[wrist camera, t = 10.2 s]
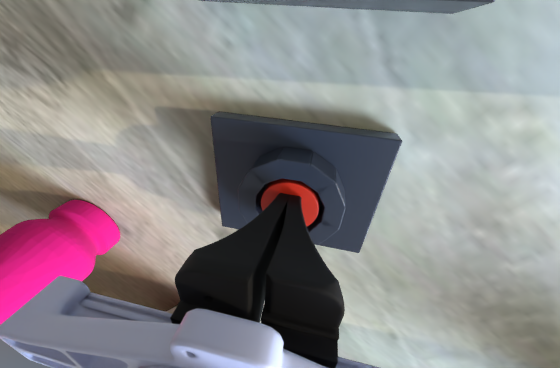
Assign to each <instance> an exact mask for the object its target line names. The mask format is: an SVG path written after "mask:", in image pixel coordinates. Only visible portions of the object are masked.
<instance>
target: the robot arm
mask: <svg viewBox="0 0 560 368" xmlns="http://www.w3.org/2000/svg"><path fill="white" fill-rule="evenodd" d="M301 199H302V198H301V197H300V196H296V195H290V194H284V193H279V194H278V195H277V196H276V198H275V199H274V200H273V201H272V202H271V203H270V204H269V205H268V206H267V207H266V208H265V209H264V210H263V211H262V212H261V213H260V214H259V215H258V216H257V217H255V218H254V219H253V220H252V221H250V222H249V223H248V224H246V225H245V226H244V227H242V228H241V229H239V230H237V231H236V232H234V233H232V234H231V235H229V236H227V237H225V238H223V239H221V240H219V241H217V242H214V243H212V244H210V245H207V246H204V247H202V248H199V249H196V250H194V252H193V253H192V254H191V255H190V256H189V257H188V259H187V260H186V261H185V263H184V264H183V266H182V267H181V268H180V270H179V271H178V273H177V274H176V277H175V284H176V287H177V291H178V294H179V297H180V302H179V304H178V305H177V307H176V309H175V310H174V312H173V314H172V313H168V312H165V311H161V310H157V309H153V308H149V307H145V306H142V305H138V304H134V303H130V302H126V301H122V300H119V299H115V298H111V297H107V296H103V295H99V294H96V293H92V292H90V290H89V288H88V286H87V285H86V284H85V283H83V282H82V281H79V280H76V279H72V278H68V277H64V276H58V277H57V278H56V279H55V280H53V281H52V282H51V283H50V284H49V285H47V286H46V287H45V288H44V289H43V290H41V291H40V292H39V293H38V294H37V295H35V296H34V297H33V298H32V299H31V300H29V301H28V302H27V303H26V304H25V305H23V306H22V307H21V308H20V309H19V310H17V311H16V312H15V313H14V314H13V315H11V316H10V317H9V318H8V319H7V320H6V321H4V322H3V323H2V324H1V325H0V339H1V340H3V341H4V342H6V343H7V344H8V345H10V346H11V347H12V348H14V349H15V350H17V351H18V352H19V353H21V354H22V355H23V356H25V357H26V358H27V359H29V360H31V361H35V362H37V363H40V364H43V365H46V366H49V367H52V368H379V367H375V366H371V365H368V364H364V363H360V362H356V361H352V360H348V359H345V358H341V357H338V344H337V340H338V339H339V325H340V323H341V321H342V318H343V316H344V311H345V309H344V301H343V296H342V292H341V289H340V285H339V282H338V280H337V279H336V278H335V277H334V275H333V274H332V273H331V271H330V270H329V269H328V267H327V266H326V264H325V263H324V261H323V260H322V258H321V256H320V255H319V253H318V251H317V249H316V248H315V246H314V244H313V241H312V239H311V237H310V235H309V232H308V229H307V226H306V223H305V220H304V216H303V212H302V205H301ZM264 301H265V304H264ZM263 305H264V308H263ZM262 309H263V312H262ZM261 314H262V316H261ZM260 318H261V323H259V322H260Z"/></svg>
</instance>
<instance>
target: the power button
mask: <svg viewBox="0 0 560 368" xmlns="http://www.w3.org/2000/svg"><path fill="white" fill-rule="evenodd" d="M279 193H284V194H290V195H296V196H300V197H301V198H302V199H301V205H302V212H303V216H304V220H305V223H306V226H309V225H310V224H311V223H313V222H314V220H315V219H316V218H317V215H318V212H319V201H320V197H319V195H318V193H317V192H316V191H315V190H313V189H312V188H311V187H309V186H308V185H306V184H305V183H303V182H302V181H296V180H290V179H283V178H281V179H278V180H275V181H272V182H269V183H268V185H267V187H266V189H265V191H264V193H263V195H262V198H261V207H262V210H264V209H265V208H266V207H267V206H268V205H269V204H270V203H271V202H272V201H273V200H274V199H275V198H276V196H277V195H278V194H279Z"/></svg>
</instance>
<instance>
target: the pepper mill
mask: <svg viewBox="0 0 560 368" xmlns="http://www.w3.org/2000/svg"><path fill="white" fill-rule="evenodd" d="M119 239H120V232H119V229H118V227H117V225H116V224H115V222H114V221H113V220H112V219H111V218H110V216H108V215H107V214H106V213H105V212H104V211H103V210H101V209H100V208H98V207H96V206H95V205H93V204H91V203H88V202H85V201H81V200H71V201H68V202H66V203H64V204H62V205H61V206H59V207H57V208H56V209H54V210H52V211H51V212H50V214H49V219H35V220H27V221H23V222H21V223H18V224H16V225H15V226H13V227H11V228H10V229H8V230H7V231H5V232H4V233H2V234H1V235H0V325H1V324H2V323H3V322H4V321H6V320H7V319H8V318H9V317H10V316H11V315H13V314H14V313H15V312H16V311H17V310H19V309H20V308H21V307H22V306H23V305H25V304H26V303H27V302H28V301H29V300H31V299H32V298H33V297H34V296H35V295H37V294H38V293H39V292H40V291H41V290H43V289H44V288H45V287H46V286H47V285H49V284H50V283H51V282H52V281H53V280H55V279H56V278H57V277H58V276H64V277H68V278H72V279H76V280H79V281H83V280H84V279H85V278H87V277H88V276H89V275H90V273H91V272H92V271H93V268H94V266H95V259H96V255H103V254H105V253H106V252H107V251H108V250H110V249H111V248H112V247H113V246H114V245H115V244H116V243H117V242H118V241H119Z"/></svg>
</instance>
